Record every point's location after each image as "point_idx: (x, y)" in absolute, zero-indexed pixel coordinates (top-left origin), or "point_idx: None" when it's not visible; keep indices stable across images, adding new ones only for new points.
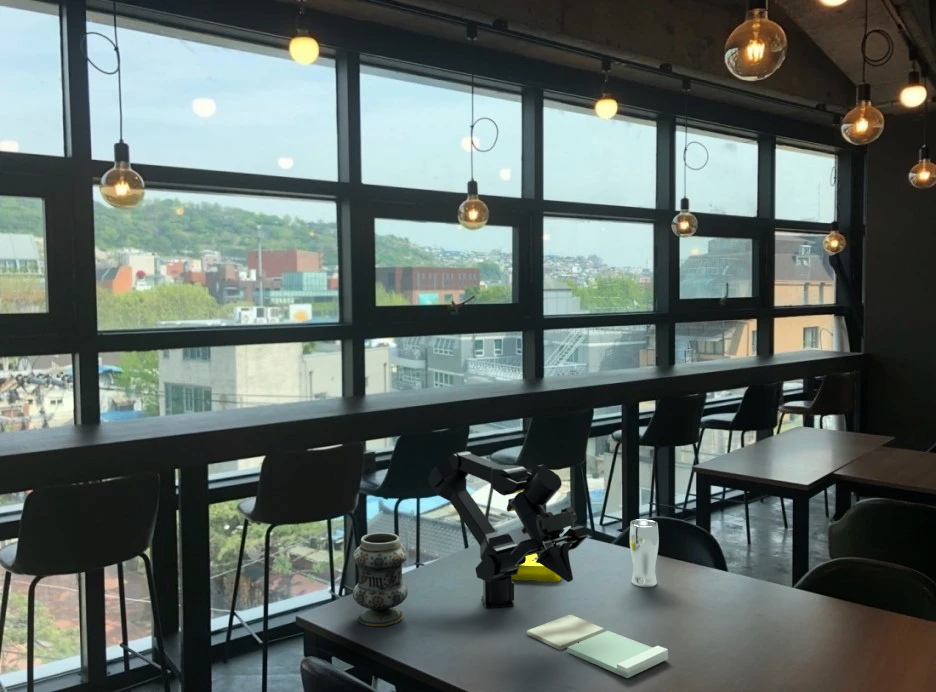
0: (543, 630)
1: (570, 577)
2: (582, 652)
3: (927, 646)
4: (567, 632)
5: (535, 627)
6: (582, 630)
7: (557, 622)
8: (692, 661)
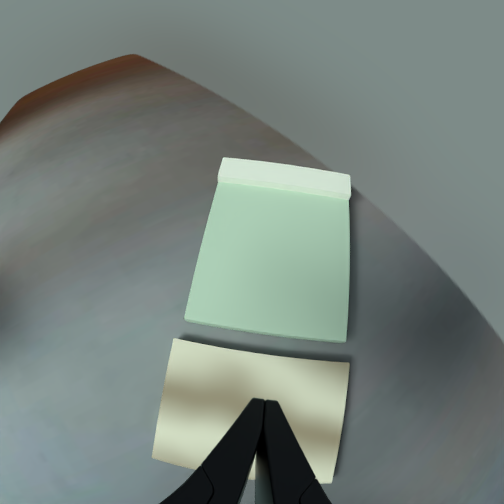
0: None
1: (272, 405)
2: (344, 293)
3: (63, 77)
4: None
5: None
6: (223, 378)
7: None
8: (198, 151)
